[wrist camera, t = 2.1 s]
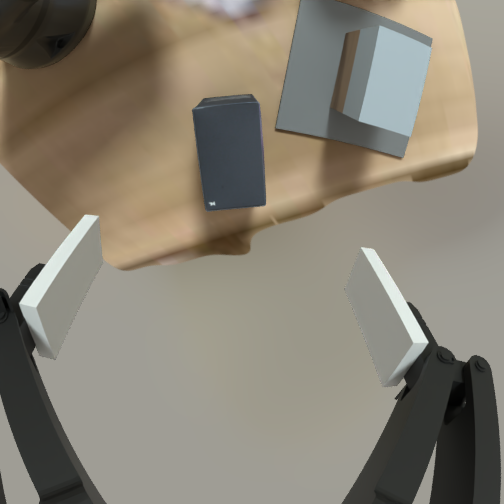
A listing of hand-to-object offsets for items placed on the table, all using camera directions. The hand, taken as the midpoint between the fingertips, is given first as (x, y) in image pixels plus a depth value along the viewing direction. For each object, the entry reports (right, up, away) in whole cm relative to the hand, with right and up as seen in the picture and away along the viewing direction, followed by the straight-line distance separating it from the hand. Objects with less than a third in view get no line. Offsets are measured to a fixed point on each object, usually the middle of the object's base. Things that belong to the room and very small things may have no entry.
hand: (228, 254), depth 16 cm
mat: (+14, +22, +18) cm, 32 cm away
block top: (+15, +19, +14) cm, 27 cm away
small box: (-1, +14, +22) cm, 27 cm away
